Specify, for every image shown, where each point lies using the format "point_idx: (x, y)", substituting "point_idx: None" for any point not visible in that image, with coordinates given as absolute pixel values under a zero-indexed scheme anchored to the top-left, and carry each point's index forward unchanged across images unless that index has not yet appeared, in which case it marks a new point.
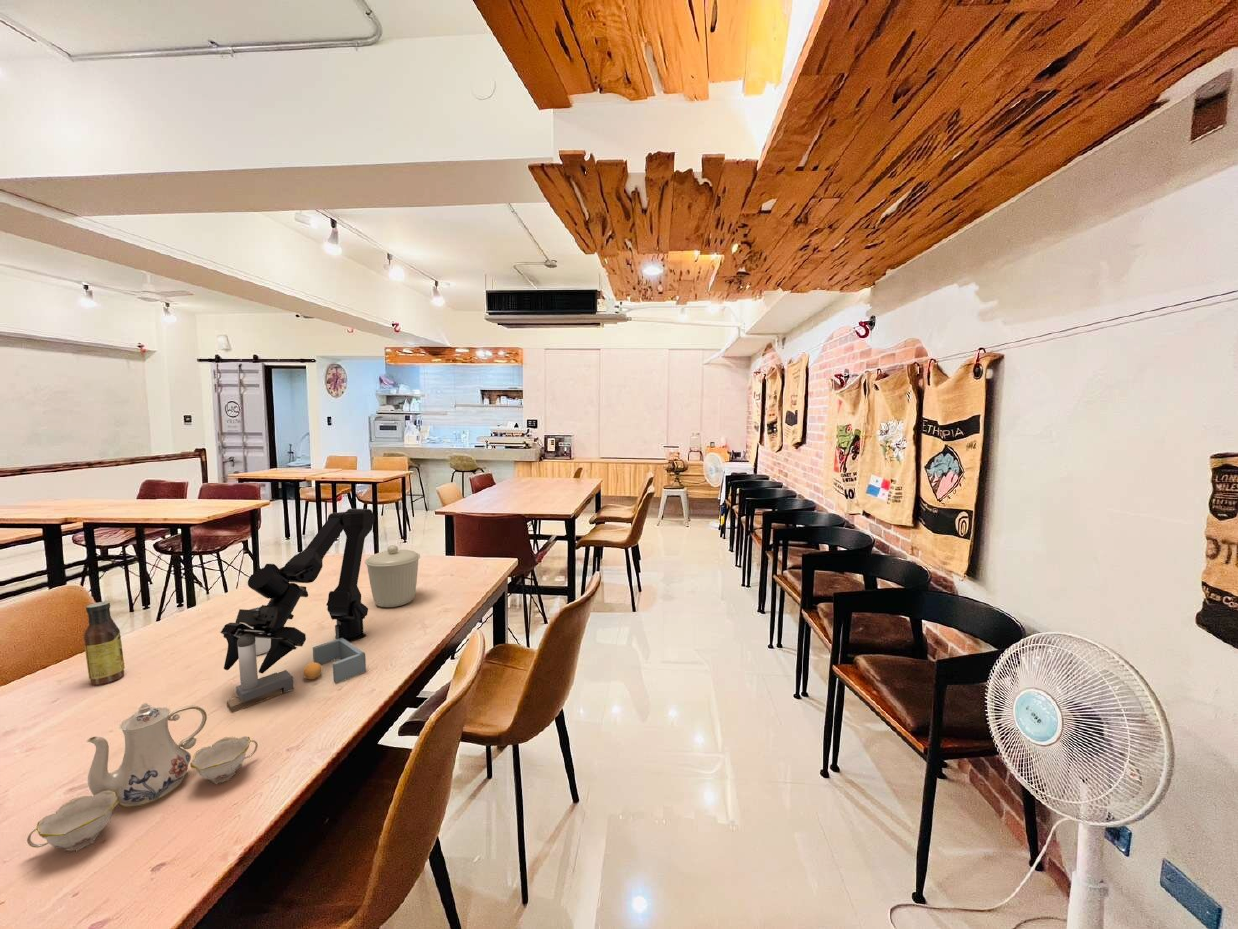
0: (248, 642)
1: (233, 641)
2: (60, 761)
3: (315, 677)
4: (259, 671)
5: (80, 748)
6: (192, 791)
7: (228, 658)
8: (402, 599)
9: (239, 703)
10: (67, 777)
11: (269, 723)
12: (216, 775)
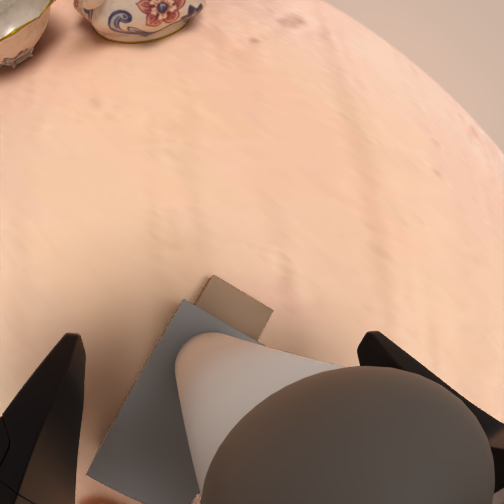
0: (230, 478)
1: (496, 448)
2: (407, 89)
3: None
4: (69, 333)
5: (422, 120)
6: (55, 21)
7: (410, 371)
8: None
9: (199, 301)
10: (344, 46)
11: (17, 234)
12: (6, 14)
